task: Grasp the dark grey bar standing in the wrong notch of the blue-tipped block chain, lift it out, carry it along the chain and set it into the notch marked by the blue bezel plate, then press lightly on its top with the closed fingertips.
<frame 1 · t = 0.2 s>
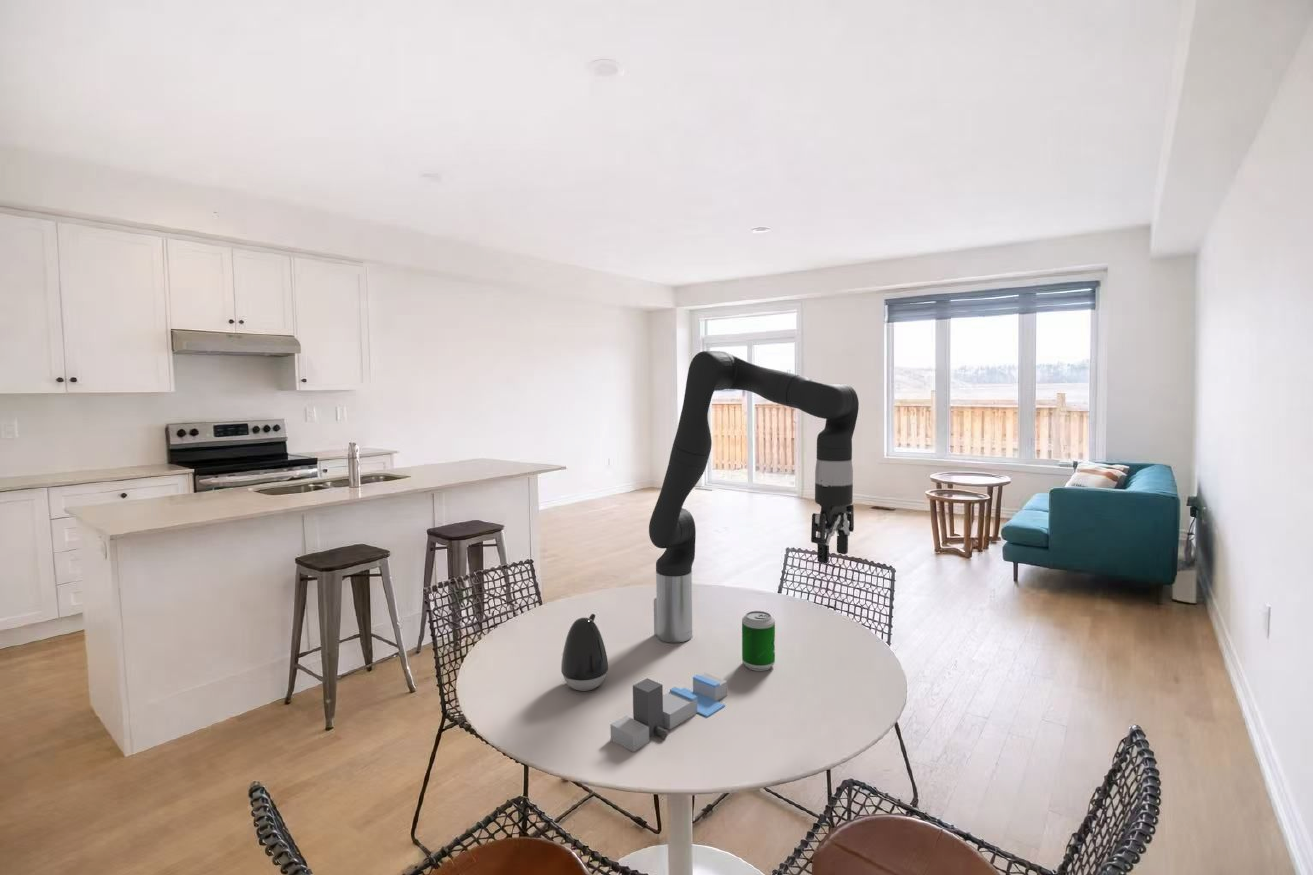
hand: (832, 557, 135), 29 cm above the table, fingers open, 8 cm apart
black egg-shaped body: (585, 685, 142), on the table
blue-tipped block chain: (672, 715, 129), on the table
dark grey bar: (648, 730, 124), on the table
soda can: (758, 666, 151), on the table
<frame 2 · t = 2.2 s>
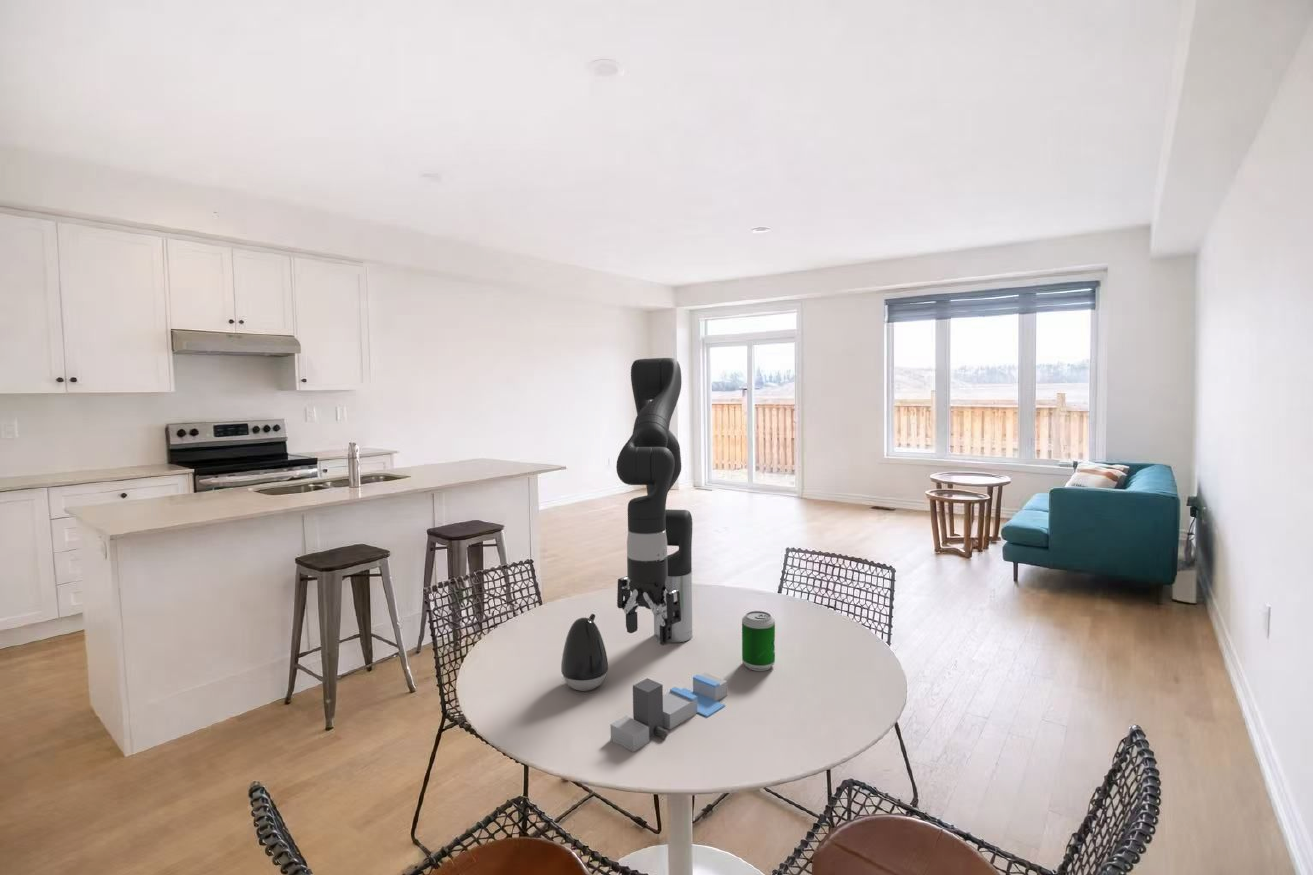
hand: (648, 637, 122), 18 cm above the table, fingers open, 8 cm apart
nothing on the table moved.
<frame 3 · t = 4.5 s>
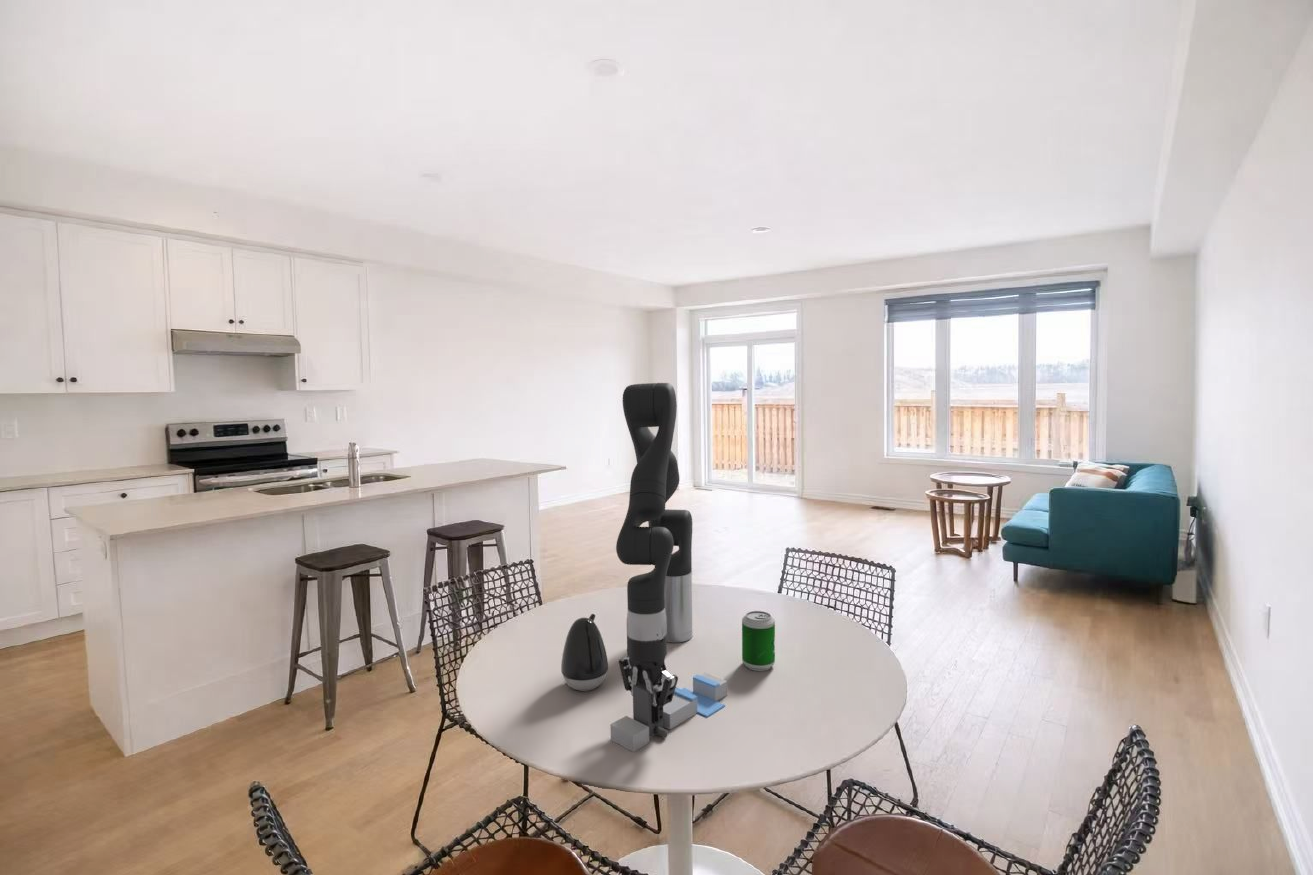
hand: (648, 717, 124), 2 cm above the table, fingers closed on dark grey bar, 4 cm apart
dark grey bar: (648, 730, 124), on the table, touching gripper
everything else where it was.
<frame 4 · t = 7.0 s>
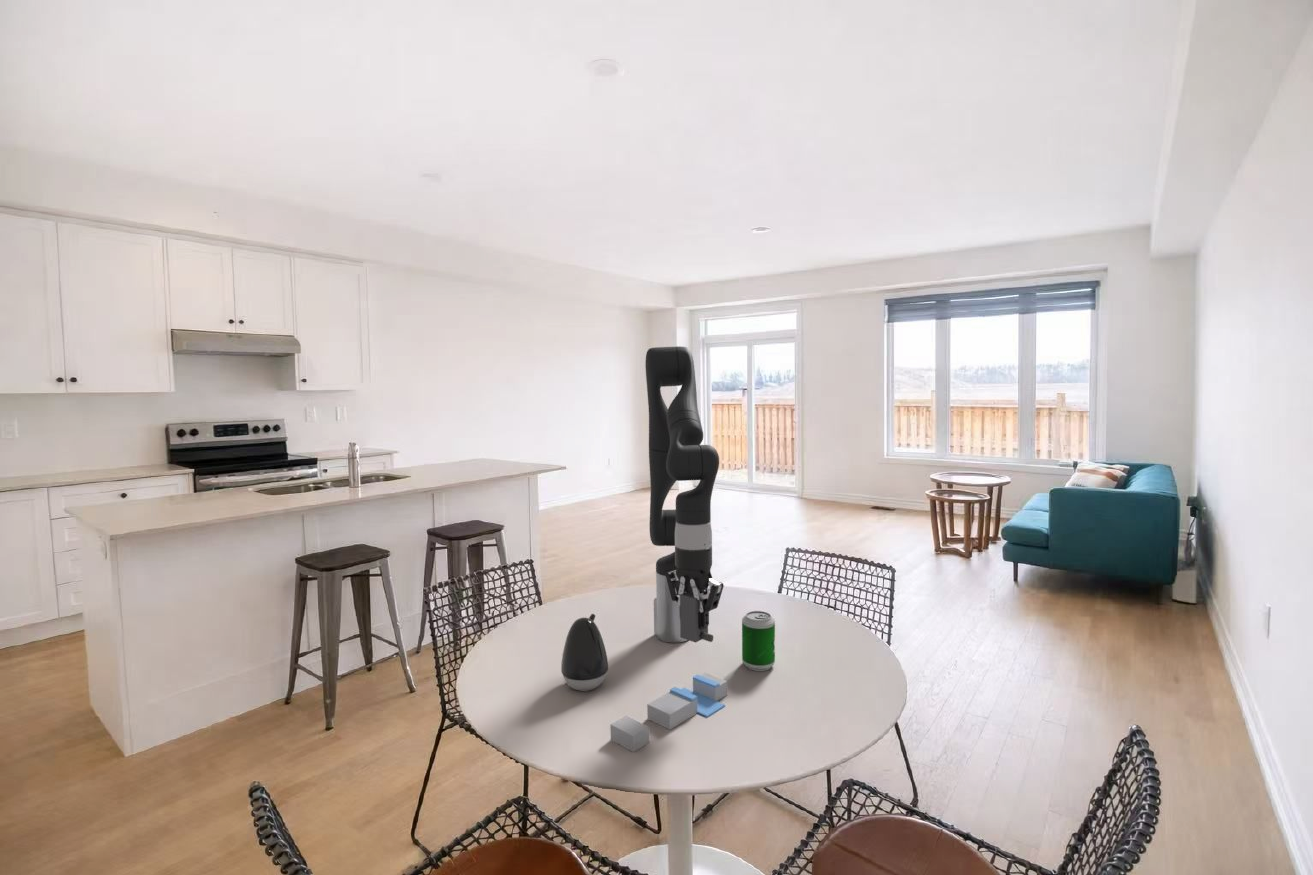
hand: (694, 625, 133), 17 cm above the table, fingers closed on dark grey bar, 4 cm apart
dark grey bar: (694, 636, 133), point 14 cm above the table, touching gripper
everything else where it was.
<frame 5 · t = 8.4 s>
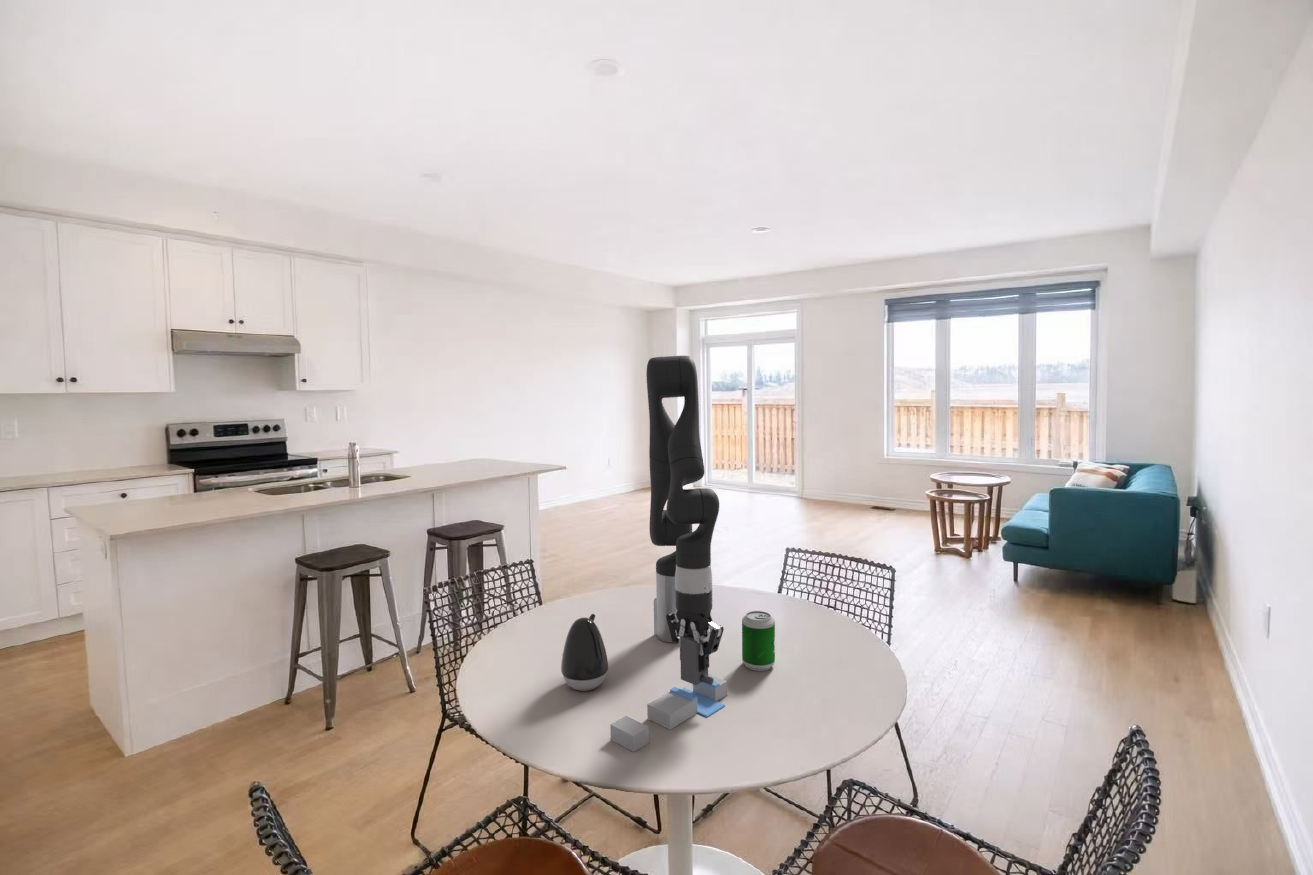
hand: (694, 667, 133), 8 cm above the table, fingers closed on dark grey bar, 4 cm apart
dark grey bar: (694, 678, 133), point 5 cm above the table, touching gripper
everything else where it was.
when the fingers open (3 cm above the table, at t = 9.6 s): dark grey bar stays where it is, resting on blue-tipped block chain.
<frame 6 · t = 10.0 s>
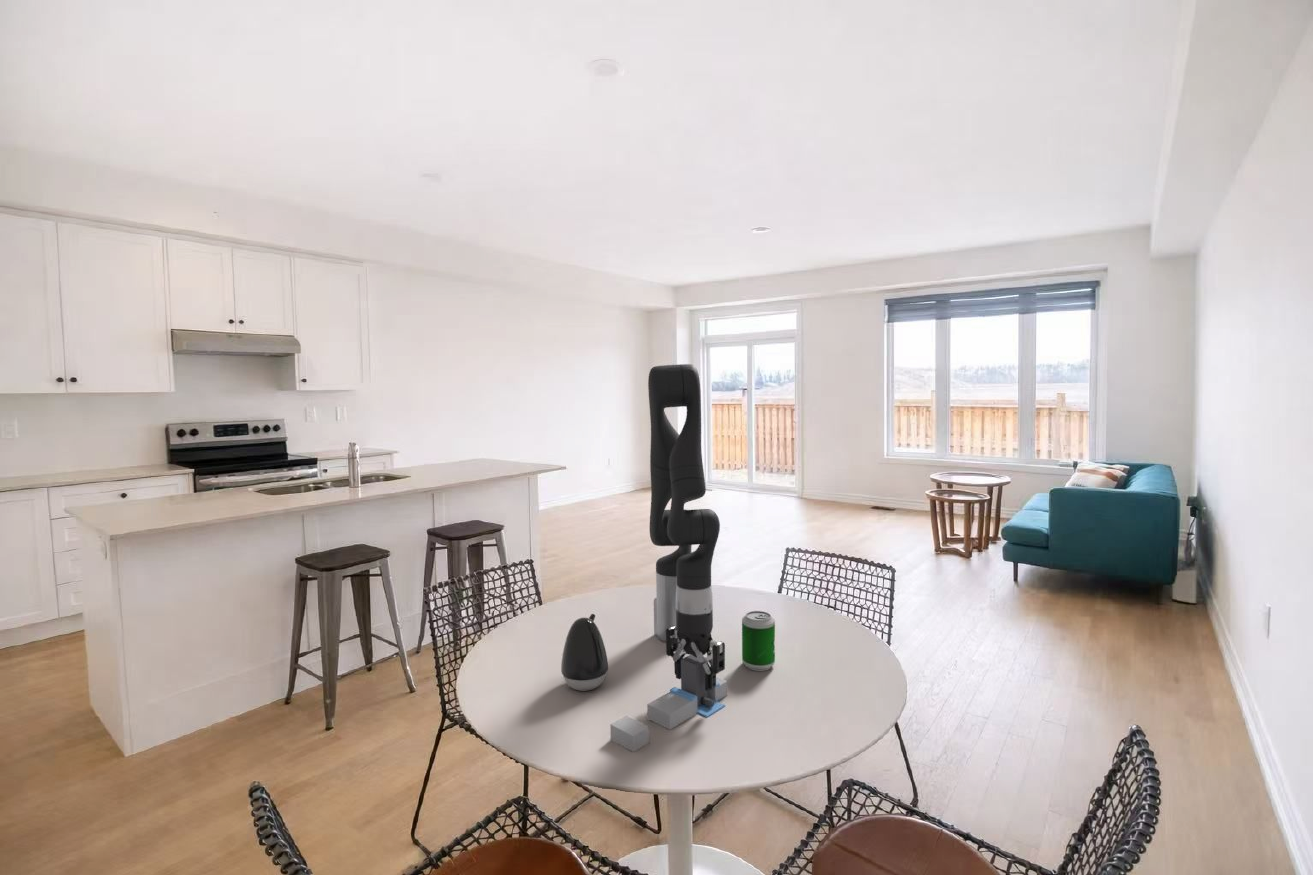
hand: (695, 683, 134), 4 cm above the table, fingers open, 7 cm apart
dark grey bar: (695, 700, 134), resting on blue-tipped block chain
everything else where it was.
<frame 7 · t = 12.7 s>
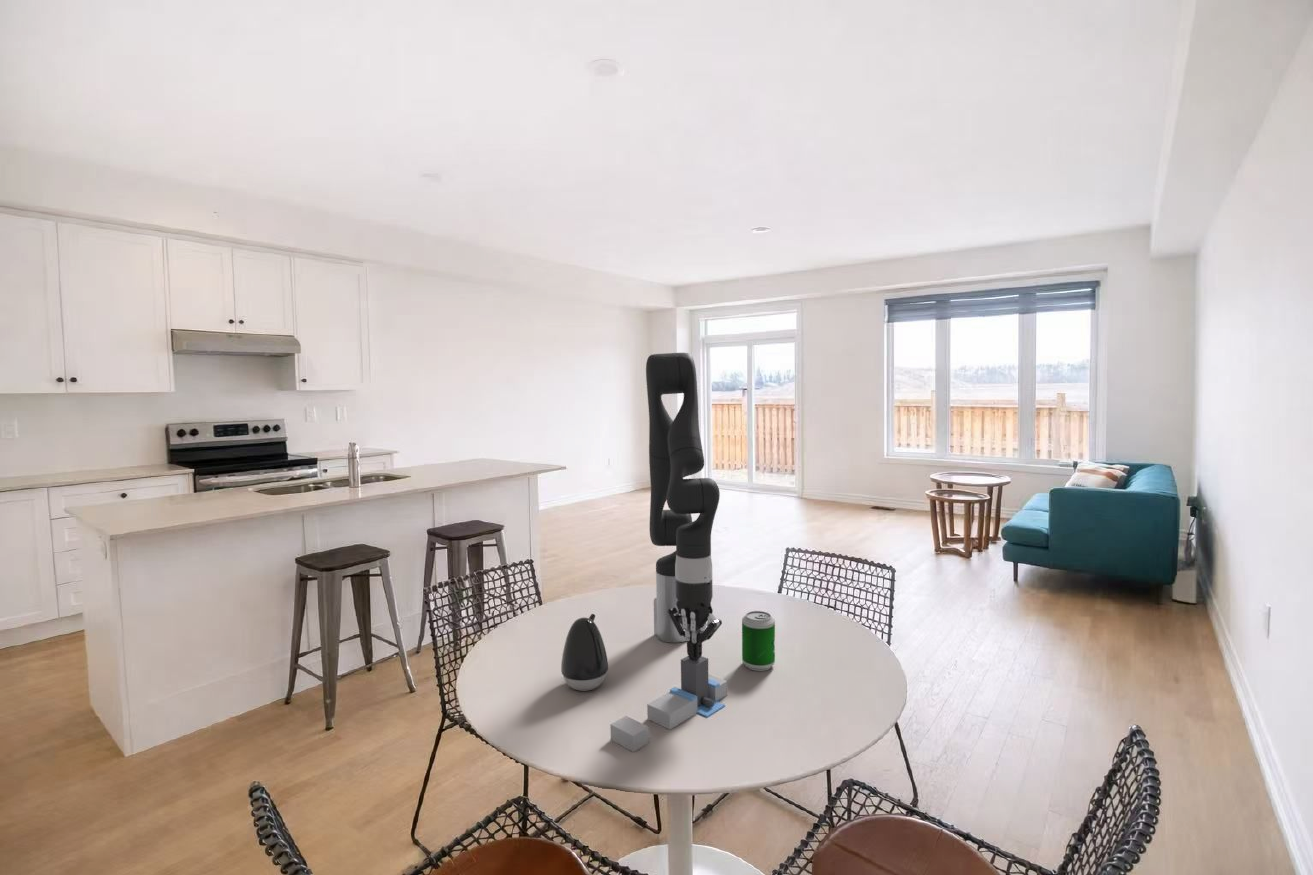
hand: (694, 658, 133), 10 cm above the table, fingers closed
nothing on the table moved.
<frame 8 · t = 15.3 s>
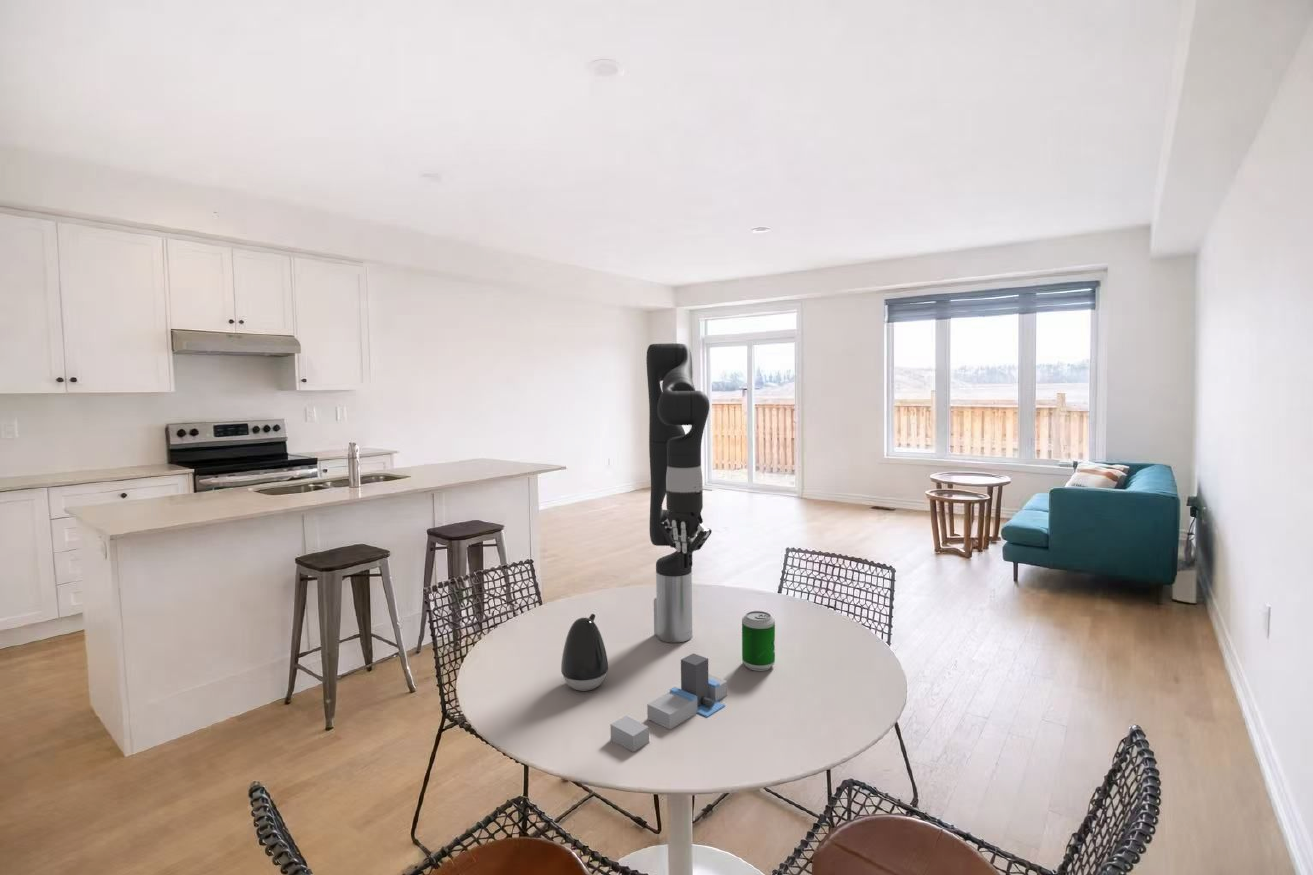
hand: (685, 569, 136), 27 cm above the table, fingers closed
nothing on the table moved.
at the end: dark grey bar 0.1 cm from the target spot on the blue-tipped block chain, point 0.3 cm above the blue-tipped block chain's base; dark grey bar tilted 0°; the gripper is holding nothing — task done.
